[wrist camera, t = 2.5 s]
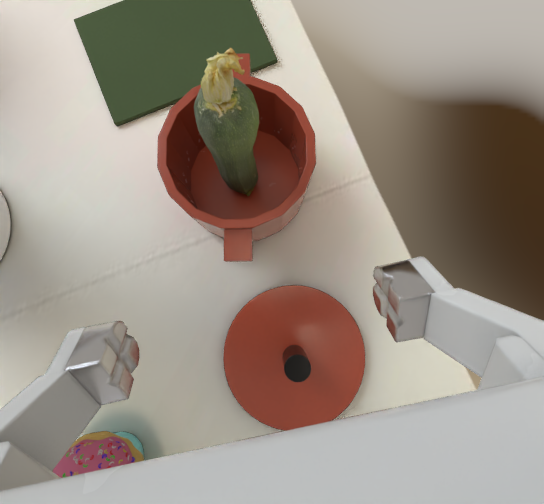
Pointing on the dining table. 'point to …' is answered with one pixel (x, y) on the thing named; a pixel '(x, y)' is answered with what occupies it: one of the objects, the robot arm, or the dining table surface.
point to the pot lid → (294, 357)
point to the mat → (165, 48)
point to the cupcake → (99, 453)
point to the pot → (269, 161)
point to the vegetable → (228, 121)
